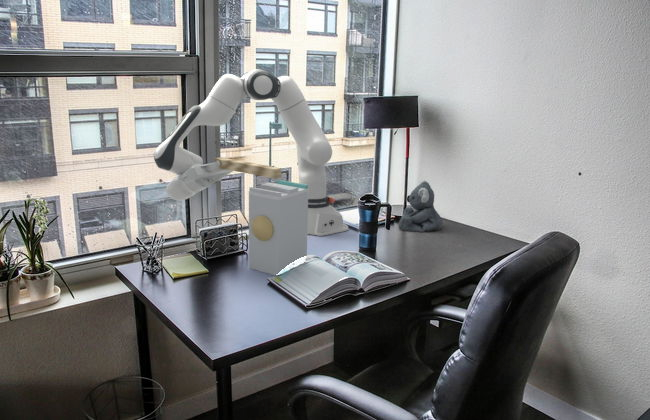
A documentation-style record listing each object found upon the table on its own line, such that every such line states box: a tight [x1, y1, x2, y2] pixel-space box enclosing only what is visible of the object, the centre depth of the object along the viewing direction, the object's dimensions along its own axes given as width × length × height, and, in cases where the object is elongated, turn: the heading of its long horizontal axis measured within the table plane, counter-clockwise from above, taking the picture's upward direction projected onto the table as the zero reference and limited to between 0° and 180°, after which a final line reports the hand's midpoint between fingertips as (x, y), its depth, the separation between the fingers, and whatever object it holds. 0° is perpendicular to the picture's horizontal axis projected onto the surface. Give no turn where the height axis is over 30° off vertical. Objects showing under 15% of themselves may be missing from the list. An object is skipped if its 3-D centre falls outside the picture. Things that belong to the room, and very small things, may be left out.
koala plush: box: [397, 180, 444, 233], centre depth 227 cm, size 17×18×20 cm
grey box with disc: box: [248, 179, 308, 276], centre depth 178 cm, size 12×17×27 cm
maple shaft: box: [213, 156, 282, 180], centre depth 178 cm, size 26×3×3 cm, turn 58°
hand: (224, 161), depth 183 cm, fingers closed on maple shaft, 3 cm apart
